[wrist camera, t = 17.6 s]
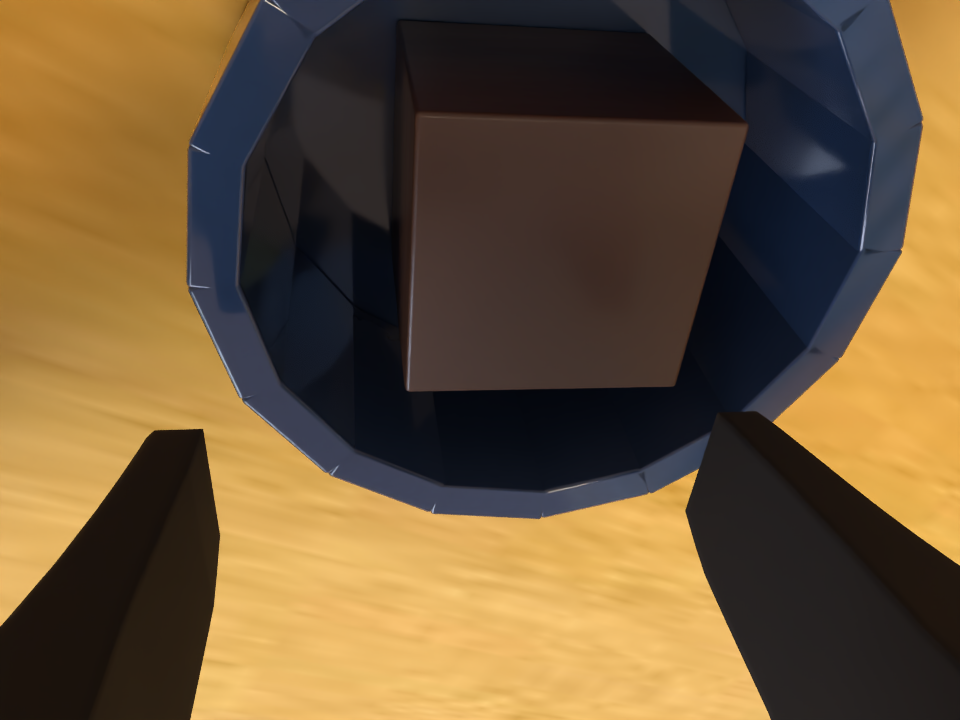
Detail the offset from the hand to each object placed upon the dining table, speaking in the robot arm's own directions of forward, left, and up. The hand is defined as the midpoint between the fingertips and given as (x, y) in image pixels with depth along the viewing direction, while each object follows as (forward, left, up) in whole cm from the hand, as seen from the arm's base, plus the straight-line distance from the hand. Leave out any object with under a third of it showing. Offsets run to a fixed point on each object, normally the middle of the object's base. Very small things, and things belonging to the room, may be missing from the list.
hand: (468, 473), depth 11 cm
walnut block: (+2, +2, -8) cm, 8 cm away
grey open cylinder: (+2, +2, -8) cm, 9 cm away
